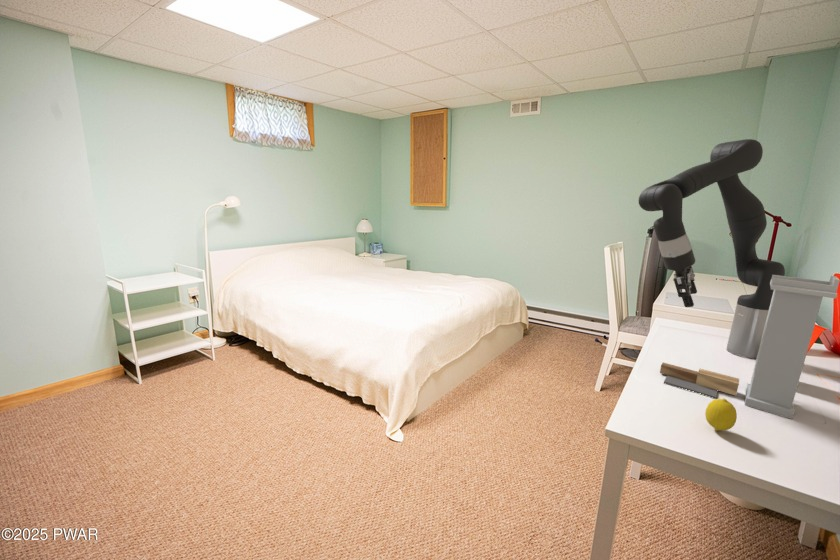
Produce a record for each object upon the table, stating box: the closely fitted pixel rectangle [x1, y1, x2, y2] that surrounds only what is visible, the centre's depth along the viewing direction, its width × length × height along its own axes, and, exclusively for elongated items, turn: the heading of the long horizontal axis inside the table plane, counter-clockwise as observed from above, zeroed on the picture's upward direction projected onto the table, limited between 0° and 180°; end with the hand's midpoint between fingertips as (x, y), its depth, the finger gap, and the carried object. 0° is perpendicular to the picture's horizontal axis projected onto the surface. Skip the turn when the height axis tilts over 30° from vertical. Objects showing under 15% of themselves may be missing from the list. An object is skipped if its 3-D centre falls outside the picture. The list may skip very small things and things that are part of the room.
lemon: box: [704, 398, 738, 432], centre depth 87 cm, size 6×6×8 cm
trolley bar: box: [659, 362, 740, 396], centre depth 109 cm, size 4×18×4 cm, turn 49°
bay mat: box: [663, 375, 718, 400], centre depth 111 cm, size 14×12×1 cm
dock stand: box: [744, 275, 840, 420], centre depth 96 cm, size 11×11×35 cm
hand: (691, 299), depth 113 cm, fingers open, 8 cm apart
